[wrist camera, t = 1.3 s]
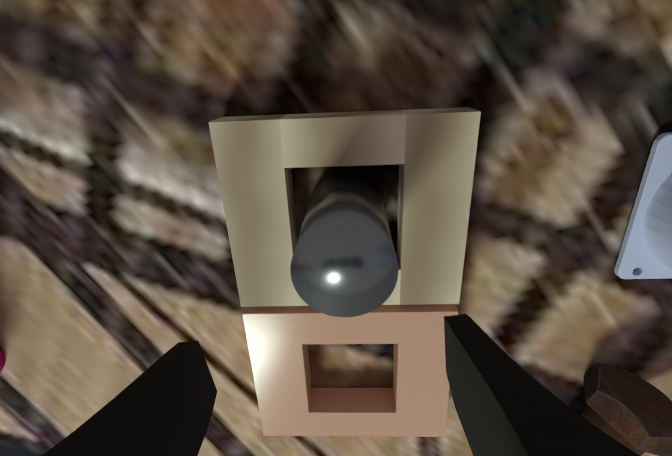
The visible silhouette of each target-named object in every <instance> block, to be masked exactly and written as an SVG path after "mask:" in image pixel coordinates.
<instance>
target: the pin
mask: <svg viewBox="0 0 672 456" xmlns="http://www.w3.org/2000/svg"><path fill="white" fill-rule="evenodd" d="M290 274H291V280H292V283H293V286H294V288H295V290H296V292H297V293H298V295H299V296H300V297H301V299H302V300H303V301H304V302H305V303H306V304H308V305H309V306H310V307H312V308H313V309H315V310H317V311H319V312H321V313H324V314H326V315H330V316H335V317H355V316H360V315H364V314H366V313H369V312H371V311H373V310H375V309H377V308H378V307H379V306H381V305H382V304H383V303H384V302H385V301H386V300H387V299H388V298H389V297H390V295H391V294H392V292H393V291H394V288H395V286H396V283H397V279H398V263H397V258H396V254H395V250H394V246H393V242H392V238H391V234H390V229H389V225H388V221H387V217H386V213H385V209H384V205H383V201H382V197H381V194H380V192H379V190H378V188H377V187H376V185H375V184H374V183H373V182H372V181H371V180H370V179H368V178H367V177H365V176H363V175H361V174H358V173H355V172H338V173H334V174H332V175H329V176H327V177H326V178H324V179H323V180H322V181H321V182H320V183H319V184H318V185H317V186H316V187H315V189H314V191H313V193H312V195H311V198H310V202H309V205H308V208H307V211H306V215H305V218H304V221H303V224H302V228H301V231H300V234H299V237H298V240H297V244H296V247H295V250H294V253H293V257H292V260H291V266H290Z"/></svg>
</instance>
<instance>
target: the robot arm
mask: <svg viewBox="0 0 672 456" xmlns="http://www.w3.org/2000/svg"><path fill="white" fill-rule="evenodd" d="M636 268H637V269H636ZM634 269H636V270H635V271H634V272H633V270H634ZM614 272H615V274H616V275H617V276H619V277H620V278H622V279H661V278H672V132H667V133H662V134H661V135H659V136H658V137H657V138H656V139H655V140H654V142H653V145H652V148H651V151H650V155H649V158H648V161H647V164H646V168H645V171H644V174H643V178H642V181H641V184H640V187H639V191H638V194H637V197H636V201H635V204H634V207H633V210H632V214H631V217H630V220H629V223H628V227H627V230H626V233H625V237H624V240H623V243H622V246H621V250H620V253H619V256H618V260H617V263H616V266H615V271H614ZM444 334H445V361H446V374H447V378H448V382H449V386H450V390H451V393H452V397H453V401H454V405H455V408H456V411H457V413H458V416H459V419H460V421H461V424H462V427H463V429H464V432H465V435H466V437H467V440H468V443H469V445H470V448H471V451H472V453H473V456H640V455H638V454H637V453H635V452H634V451H632V450H630V449H629V448H627V447H626V446H624V445H622V444H621V443H619V442H618V441H616V440H615V439H613V438H612V437H610V436H609V435H608V434H606V433H605V432H603V431H602V430H600V429H599V428H597V427H596V426H595V425H593V424H592V423H591V422H589V421H588V420H586V419H585V418H584V417H582V416H581V415H579V414H578V413H577V412H575V411H574V410H573V409H572V408H570V407H569V406H568V405H566V404H565V403H564V402H562V401H561V400H560V399H559V398H557V397H556V396H555V395H554V394H552V393H551V392H550V391H549V390H548V389H546V388H545V387H544V386H543V385H541V384H540V383H539V382H538V381H537V380H536V379H534V378H533V377H532V376H531V375H530V374H529V373H527V372H526V371H525V370H524V369H523V368H522V367H521V366H520V365H519V364H517V363H516V362H515V361H514V360H513V359H512V358H511V357H510V356H509V355H507V354H506V353H505V352H504V351H503V350H502V349H501V348H500V347H499V346H498V345H497V344H496V343H495V342H494V341H493V340H492V339H491V338H490V337H489V336H488V335H487V334H486V333H485V332H484V331H483V330H482V329H481V328H480V327H479V326H478V325H477V324H476V323H475V322H474V321H473V320H472V319H471V318H470V317H469V316H468V315H467V314H463V315H452V316H444ZM216 394H217V390H216V387H215V384H214V382H213V379H212V376H211V374H210V371H209V368H208V366H207V363H206V360H205V358H204V355H203V352H202V350H201V347H200V344H199V342H198V341H190V342H180V343H178V344H176V345H175V346H174V347H172V348H171V349H170V350H169V351H168V352H166V353H165V354H164V355H163V356H162V357H161V358H159V359H158V360H157V361H156V362H155V363H154V364H153V365H151V366H150V367H149V368H148V369H147V370H146V371H145V372H144V373H142V374H141V375H140V376H139V377H138V378H137V379H136V380H134V381H133V382H132V383H131V384H130V385H129V386H128V387H126V388H125V389H124V390H123V391H122V392H121V393H120V394H118V395H117V396H116V397H115V398H114V399H113V400H111V401H110V402H109V403H108V404H107V405H105V406H104V407H103V408H102V409H101V410H99V411H98V412H97V413H96V414H94V415H93V416H92V417H91V418H90V419H88V420H87V421H86V422H85V423H84V424H82V425H81V426H80V427H79V428H77V429H76V430H75V431H74V432H72V433H71V434H70V435H69V436H67V437H66V438H65V439H63V440H62V441H61V442H60V443H58V444H57V445H56V446H54V447H53V448H52V449H50V450H49V451H47V452H46V453H45V454H43V455H42V456H197V455H198V452H199V450H200V447H201V444H202V442H203V439H204V437H205V434H206V431H207V428H208V426H209V422H210V418H211V414H212V411H213V407H214V402H215V398H216Z"/></svg>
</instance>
